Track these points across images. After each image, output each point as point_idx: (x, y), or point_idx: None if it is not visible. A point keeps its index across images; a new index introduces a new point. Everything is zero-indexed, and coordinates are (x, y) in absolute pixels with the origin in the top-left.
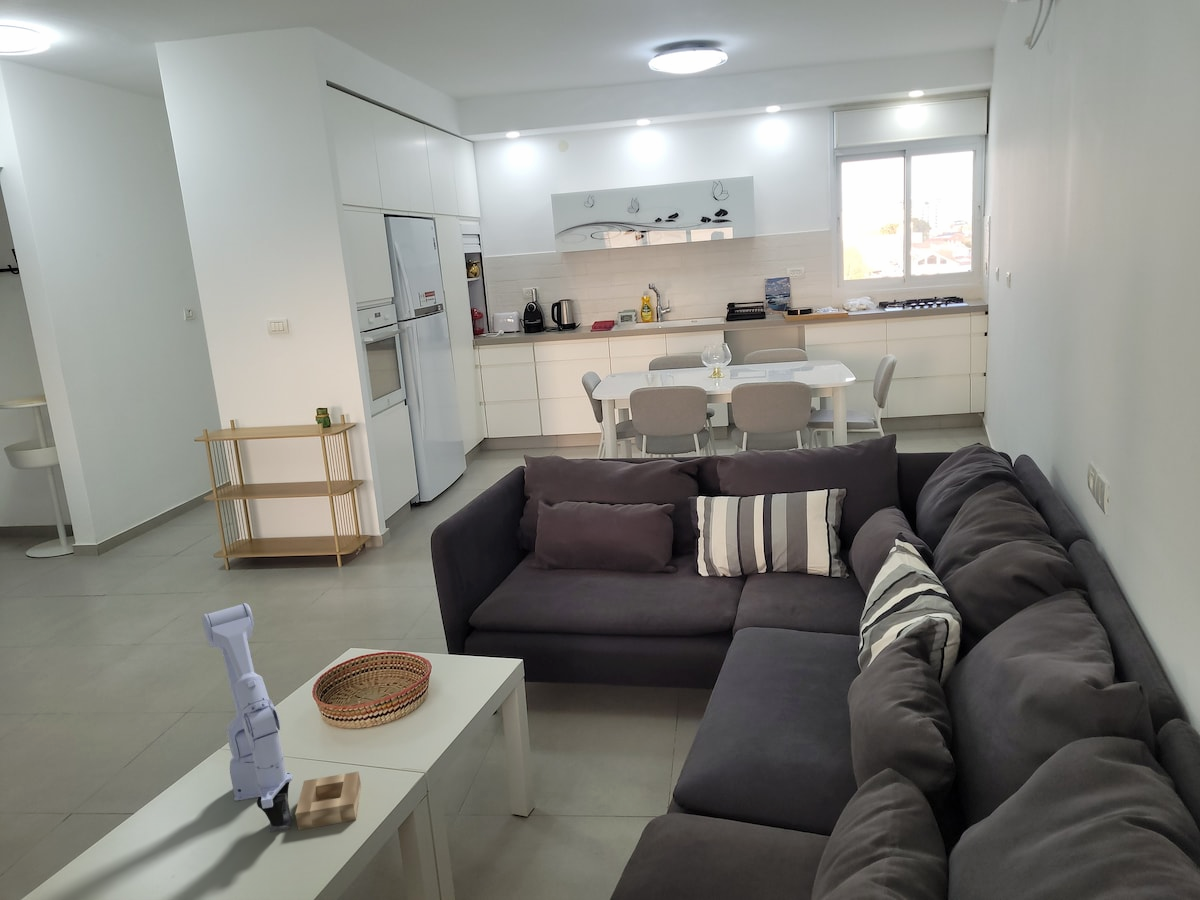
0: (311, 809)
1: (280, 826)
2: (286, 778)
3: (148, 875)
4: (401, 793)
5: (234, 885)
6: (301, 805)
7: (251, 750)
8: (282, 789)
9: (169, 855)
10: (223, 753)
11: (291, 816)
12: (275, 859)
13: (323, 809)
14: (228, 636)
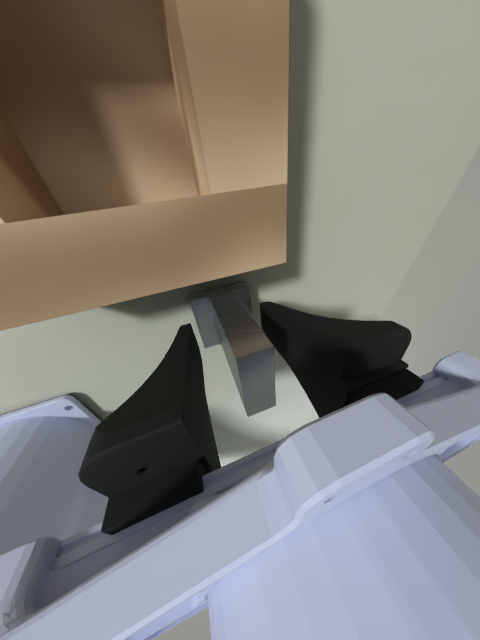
0: (275, 175)
1: (250, 308)
2: (397, 471)
3: (302, 424)
4: None
5: (373, 317)
6: (231, 254)
7: None
8: (194, 390)
9: (272, 430)
10: None
11: (201, 296)
12: (343, 270)
13: (286, 67)
14: None
